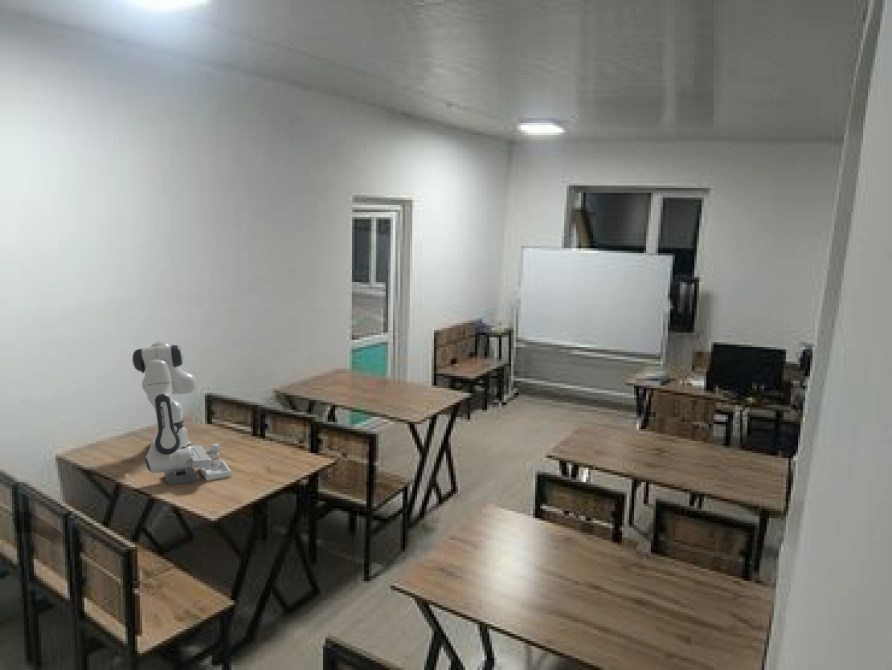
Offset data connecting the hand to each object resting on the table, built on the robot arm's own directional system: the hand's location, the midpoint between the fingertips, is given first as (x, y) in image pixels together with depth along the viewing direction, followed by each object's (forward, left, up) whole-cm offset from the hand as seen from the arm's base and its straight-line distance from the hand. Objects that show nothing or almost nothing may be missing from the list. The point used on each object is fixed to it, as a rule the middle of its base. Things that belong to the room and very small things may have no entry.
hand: (216, 453), depth 302 cm
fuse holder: (0, -16, -10) cm, 19 cm away
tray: (0, -1, -10) cm, 10 cm away
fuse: (0, -1, -7) cm, 8 cm away
